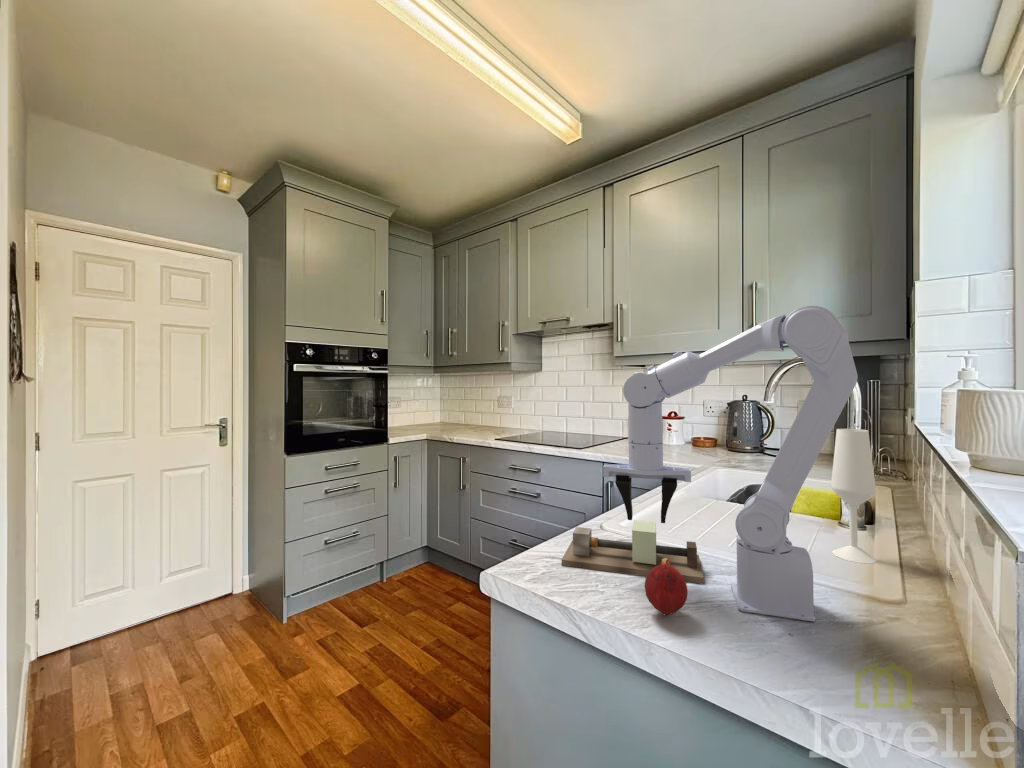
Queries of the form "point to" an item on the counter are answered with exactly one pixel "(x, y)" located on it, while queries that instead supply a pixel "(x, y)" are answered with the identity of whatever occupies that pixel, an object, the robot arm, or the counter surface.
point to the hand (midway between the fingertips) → (646, 520)
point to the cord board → (628, 556)
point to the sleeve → (644, 542)
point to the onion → (666, 588)
